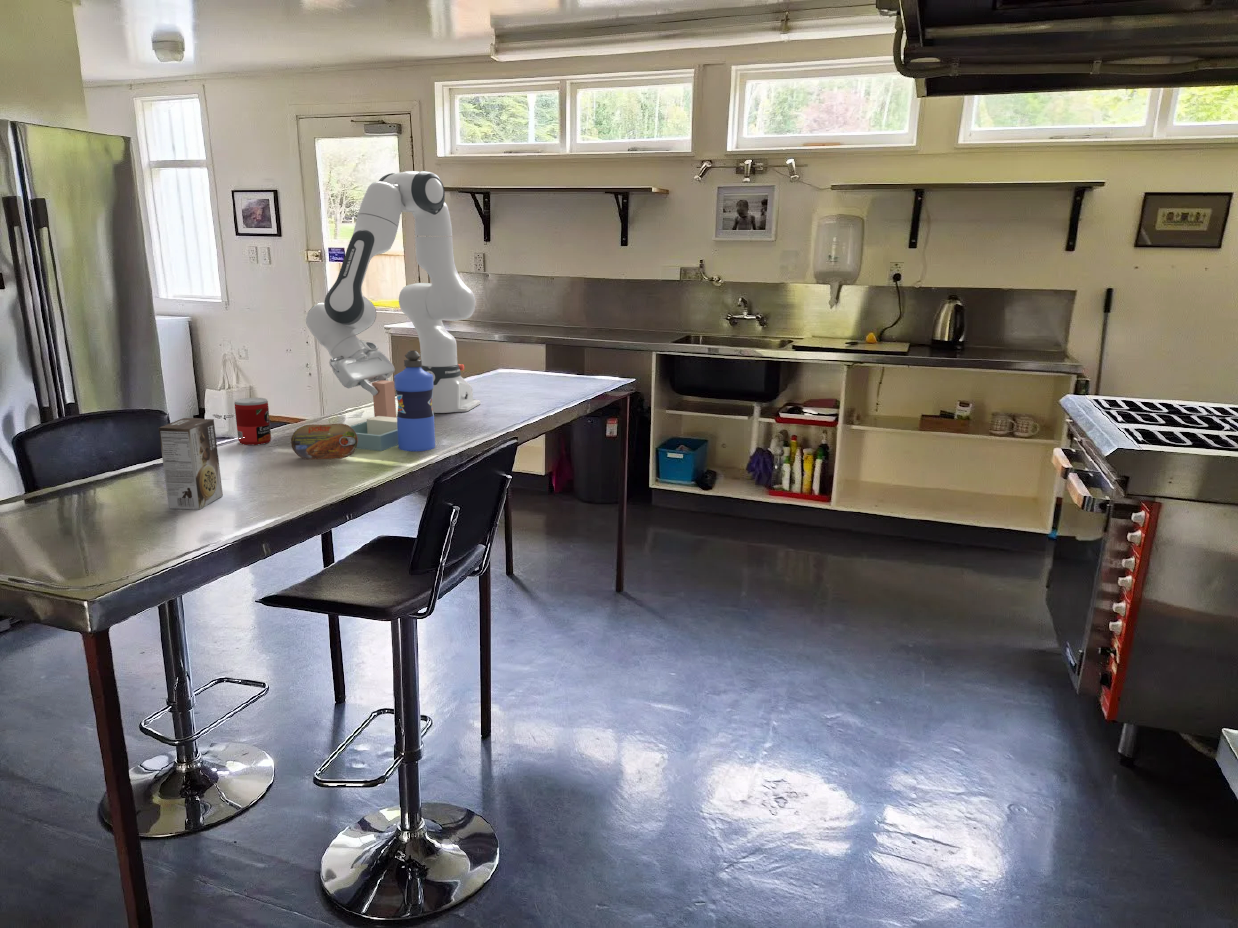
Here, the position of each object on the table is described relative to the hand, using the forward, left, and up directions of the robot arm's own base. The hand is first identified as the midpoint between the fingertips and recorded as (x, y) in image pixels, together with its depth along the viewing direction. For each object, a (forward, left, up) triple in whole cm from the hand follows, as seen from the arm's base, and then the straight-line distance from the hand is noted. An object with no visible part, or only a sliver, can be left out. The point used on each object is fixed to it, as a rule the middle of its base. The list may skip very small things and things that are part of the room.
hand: (383, 392), depth 222 cm
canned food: (+25, -22, -11) cm, 35 cm away
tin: (+31, +5, -11) cm, 34 cm away
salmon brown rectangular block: (0, 0, -8) cm, 8 cm away
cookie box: (+70, +5, -11) cm, 72 cm away
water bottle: (+16, +21, -11) cm, 29 cm away
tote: (+14, +8, -11) cm, 20 cm away
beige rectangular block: (+10, +8, -10) cm, 17 cm away
